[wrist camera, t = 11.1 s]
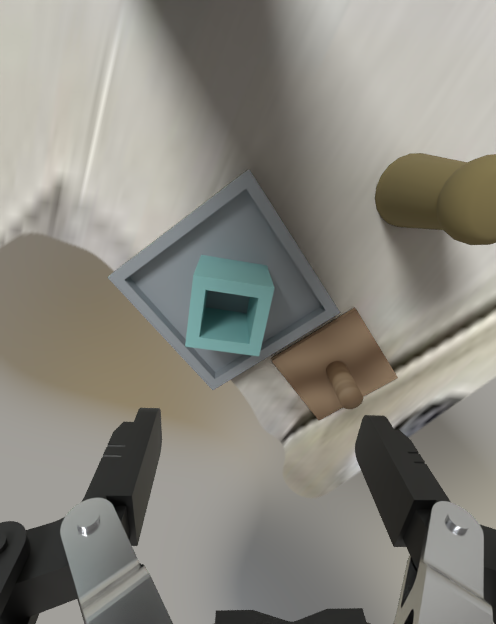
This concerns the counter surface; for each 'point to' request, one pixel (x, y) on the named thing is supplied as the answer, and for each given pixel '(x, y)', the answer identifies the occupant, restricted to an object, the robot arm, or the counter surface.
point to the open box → (221, 323)
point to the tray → (178, 285)
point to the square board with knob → (335, 365)
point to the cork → (441, 196)
